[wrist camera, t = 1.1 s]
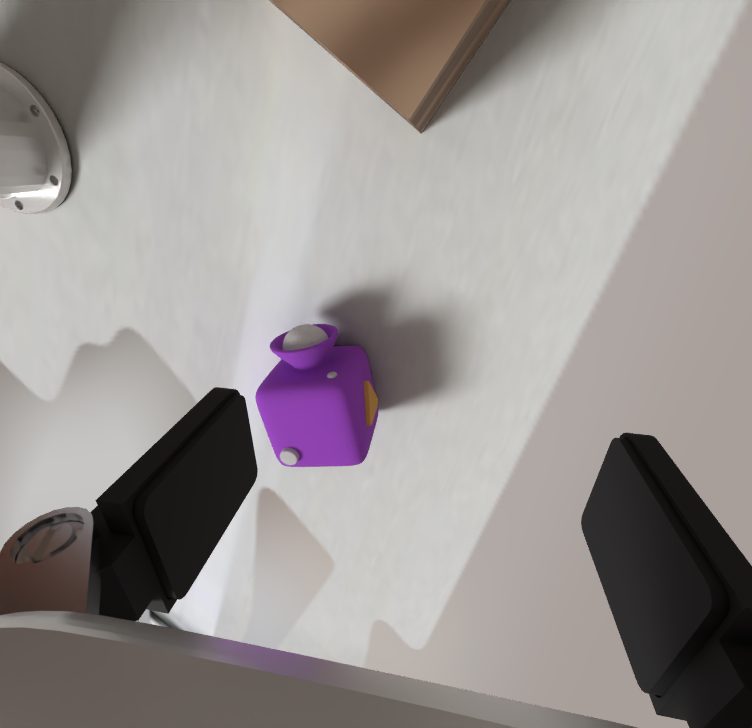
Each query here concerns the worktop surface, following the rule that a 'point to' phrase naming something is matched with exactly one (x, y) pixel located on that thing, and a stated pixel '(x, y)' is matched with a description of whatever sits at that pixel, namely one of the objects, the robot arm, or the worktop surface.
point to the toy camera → (318, 399)
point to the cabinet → (400, 44)
